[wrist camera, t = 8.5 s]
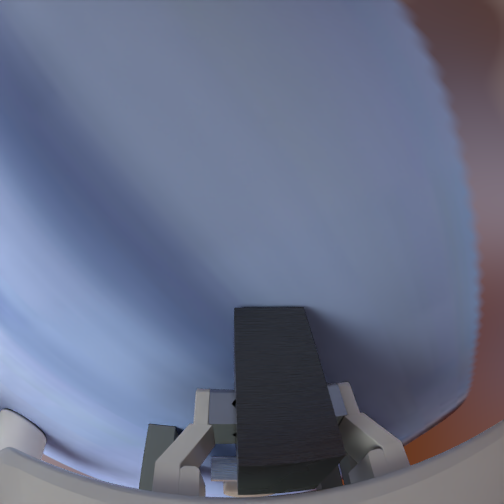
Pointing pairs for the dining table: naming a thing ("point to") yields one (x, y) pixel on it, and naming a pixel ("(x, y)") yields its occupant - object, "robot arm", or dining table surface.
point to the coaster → (236, 490)
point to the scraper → (279, 406)
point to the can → (21, 434)
